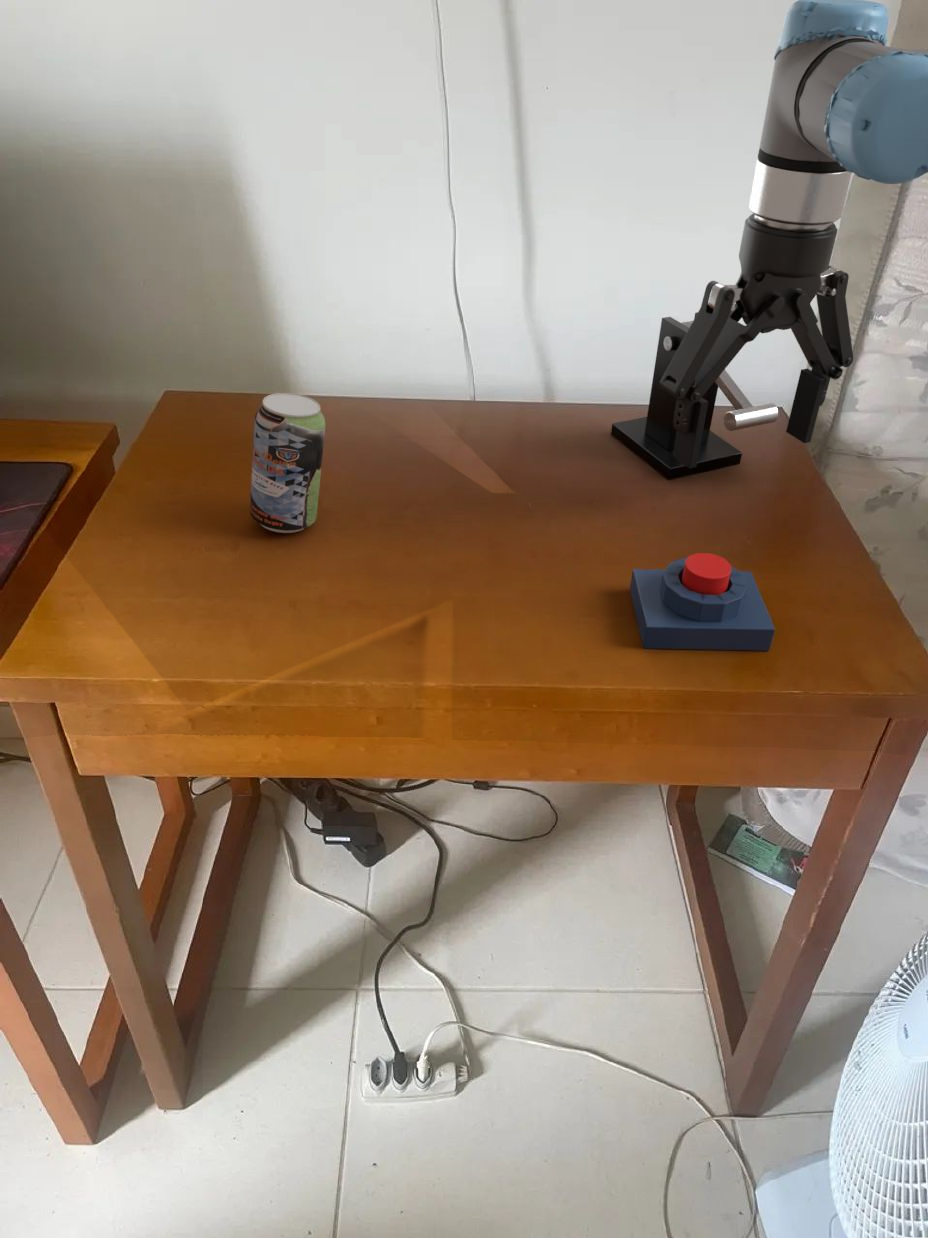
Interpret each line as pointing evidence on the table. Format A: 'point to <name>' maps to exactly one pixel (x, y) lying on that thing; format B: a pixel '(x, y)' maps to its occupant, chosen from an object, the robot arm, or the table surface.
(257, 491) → the beverage can
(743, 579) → the button box
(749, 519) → the table surface
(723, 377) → the lever
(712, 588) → the button
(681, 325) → the bracket
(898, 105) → the robot arm
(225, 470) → the table surface
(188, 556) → the table surface
